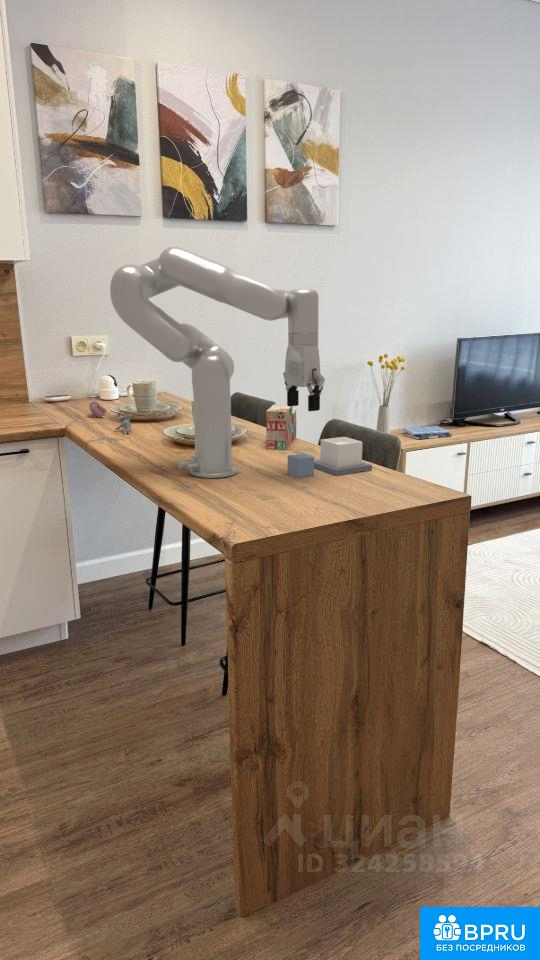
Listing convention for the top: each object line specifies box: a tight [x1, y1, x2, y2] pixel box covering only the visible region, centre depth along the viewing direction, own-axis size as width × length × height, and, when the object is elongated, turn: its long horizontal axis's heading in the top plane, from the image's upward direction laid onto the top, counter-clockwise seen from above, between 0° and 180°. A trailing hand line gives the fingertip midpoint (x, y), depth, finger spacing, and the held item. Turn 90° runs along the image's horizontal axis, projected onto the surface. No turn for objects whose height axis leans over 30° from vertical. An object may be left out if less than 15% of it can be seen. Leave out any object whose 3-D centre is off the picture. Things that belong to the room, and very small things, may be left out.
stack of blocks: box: [265, 403, 297, 451], centre depth 222 cm, size 21×6×12 cm, turn 169°
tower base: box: [314, 436, 373, 477], centre depth 189 cm, size 12×12×8 cm
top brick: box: [287, 453, 315, 479], centre depth 183 cm, size 5×5×5 cm
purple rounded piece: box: [88, 401, 108, 418], centre depth 270 cm, size 10×5×7 cm, turn 6°
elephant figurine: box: [113, 413, 137, 435], centre depth 238 cm, size 10×6×9 cm
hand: (303, 408), depth 179 cm, fingers open, 9 cm apart
